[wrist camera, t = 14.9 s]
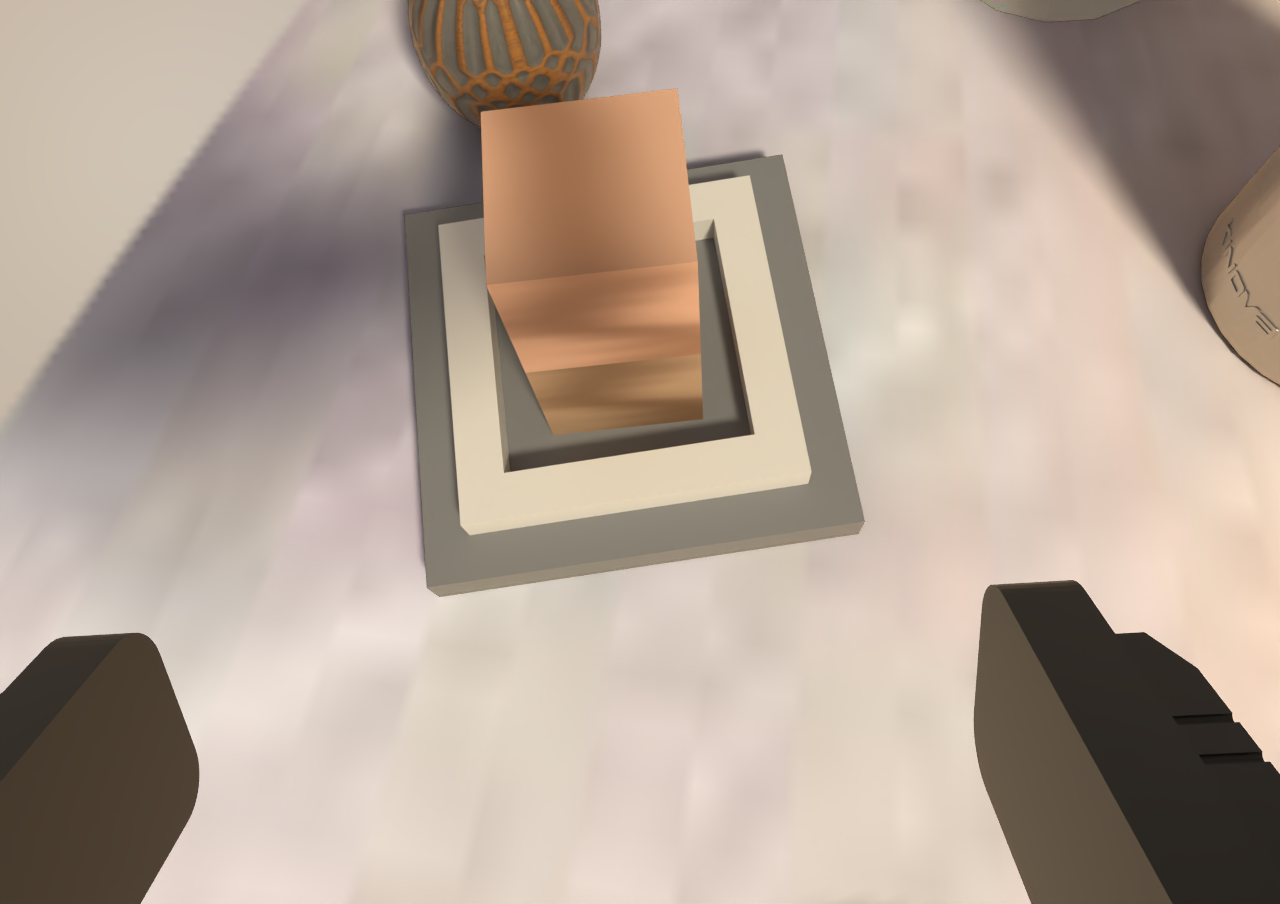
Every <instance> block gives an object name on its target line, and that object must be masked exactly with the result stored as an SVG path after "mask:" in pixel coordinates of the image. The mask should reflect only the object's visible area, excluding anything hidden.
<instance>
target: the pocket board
mask: <svg viewBox="0 0 1280 904" xmlns="http://www.w3.org/2000/svg"><path fill="white" fill-rule="evenodd" d="M687 174H688V183H689V191H690V200H691V208H692V217H693V225H694V234H695V242H696V251H697V259H698V283H699V312H700V341H701V371H702V400H703V419H702V420H692V421H683V422H673V423H664V424H654V425H644V426H635V427H625V428H615V429H606V430H596V431H587V432H577V433H567V434H558V435H553V433H552V431H551V429H550V427H549V424H548V422H547V420H546V418H545V415H544V413H543V411H542V409H541V406H540V404H539V402H538V400H537V398H536V395H535V393H534V391H533V389H532V386H531V384H530V382H529V380H528V377H527V375H526V373H525V371H524V369H523V366H522V364H521V362H520V360H519V357H518V355H517V353H516V351H515V348H514V346H513V344H512V342H511V340H510V337H509V335H508V333H507V331H506V328H505V326H504V324H503V322H502V319H501V317H500V315H499V313H498V311H497V308H496V306H495V304H494V302H493V299H492V297H491V295H490V293H489V290H488V288H487V286H486V266H485V234H484V202H482V203H476V204H470V205H464V206H458V207H451V208H445V209H439V210H433V211H426V212H420V213H414V214H408V215H404V217H405V234H406V251H407V267H408V284H409V300H410V317H411V334H412V350H413V367H414V383H415V400H416V417H417V433H418V450H419V467H420V483H421V500H422V516H423V533H424V550H425V566H426V583H427V588H428V589H429V590H431V591H432V592H433V593H435V594H436V595H438V596H439V597H442V596H449V595H455V594H462V593H469V592H475V591H482V590H488V589H495V588H502V587H508V586H515V585H522V584H528V583H535V582H541V581H548V580H555V579H561V578H568V577H575V576H581V575H588V574H595V573H601V572H608V571H614V570H621V569H628V568H634V567H641V566H648V565H654V564H661V563H667V562H674V561H681V560H687V559H694V558H701V557H707V556H714V555H721V554H727V553H734V552H740V551H747V550H754V549H760V548H767V547H774V546H780V545H787V544H794V543H800V542H807V541H813V540H820V539H827V538H833V537H840V536H847V535H853V534H858V533H859V531H860V529H861V528H862V526H863V524H864V522H865V520H864V516H863V511H862V507H861V502H860V498H859V494H858V489H857V485H856V480H855V476H854V471H853V467H852V462H851V458H850V454H849V449H848V445H847V440H846V436H845V431H844V427H843V422H842V418H841V413H840V409H839V405H838V400H837V396H836V391H835V387H834V382H833V378H832V373H831V369H830V365H829V360H828V356H827V351H826V347H825V342H824V338H823V333H822V329H821V324H820V320H819V316H818V311H817V307H816V302H815V298H814V293H813V289H812V284H811V280H810V276H809V271H808V267H807V262H806V258H805V253H804V249H803V244H802V240H801V236H800V231H799V227H798V222H797V218H796V213H795V209H794V204H793V200H792V195H791V191H790V187H789V182H788V178H787V173H786V169H785V164H784V160H783V155H776V156H769V157H763V158H757V159H751V160H744V161H738V162H732V163H726V164H719V165H713V166H707V167H701V168H695V169H688V170H687Z"/></svg>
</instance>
